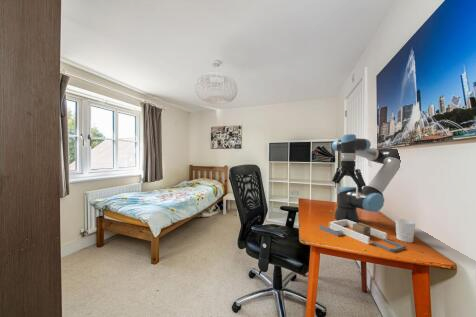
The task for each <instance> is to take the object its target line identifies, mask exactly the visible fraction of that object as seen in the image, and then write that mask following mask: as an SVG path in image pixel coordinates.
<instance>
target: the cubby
mask: <svg viewBox="0 0 476 317" xmlns="http://www.w3.org/2000/svg"><path fill="white" fill-rule="evenodd" d="M353 224H356V222H353V221H350V220H347V219H345V220H339V221H338V220H333V221H328V228H330V229H333V230H335V231H339V230H341V231H343V235H344V236H347V237H350V238H352V239H354V240H356V241H359V242H361V243H363V244H366V245H370V241H371V240H370V238H371V236H373V237H376V238H379V239H381V240H384V239H387V240H388V233H387V232H385V231H381V230H379V229H376V228H373V227H371V230H370V237H368V236H365V235H363V234H360V233H358V232H355V231H353ZM346 226H347V227H349V228H347V227H346ZM350 228H352V229H350Z"/></svg>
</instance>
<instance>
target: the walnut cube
mask: <svg viewBox="0 0 476 317" xmlns="http://www.w3.org/2000/svg"><path fill="white" fill-rule="evenodd" d="M371 228H372V227H371V226H370V225H368V224H365V223H362V222H359V223H356V224H353V228H352V231H355V232H358V233H360V234H363V235H365V236H368V237H370V238H371V235H370V230H371Z"/></svg>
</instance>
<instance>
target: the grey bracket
mask: <svg viewBox="0 0 476 317" xmlns="http://www.w3.org/2000/svg"><path fill="white" fill-rule="evenodd" d="M382 240H383V242H384V243H387V244H390V245H392V246H395V247H393V248H391V247H388V246H386V245H383V244H381V243H378V242H376V241H372V242H371V244H372V245H374V246H376V247H378V248H381V249H383V250H384V251H385V250H386V251H388V252H390V253H396V252H399V251H402V250H406V245H403V244H400V243H397V242H396V241H395V242H394V241H392V240H389V239H388V238H387V239H382Z"/></svg>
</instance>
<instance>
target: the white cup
mask: <svg viewBox="0 0 476 317" xmlns="http://www.w3.org/2000/svg"><path fill="white" fill-rule="evenodd" d="M415 228H416V222H414V221H412V220H408V219H404V218H396V219H395V233H396V234H395V235H396V236H395V237H396V239H397V240H398V241H401V242H405V243H413V242H414V238H415V237H414V236H415V231H416V230H415Z"/></svg>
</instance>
